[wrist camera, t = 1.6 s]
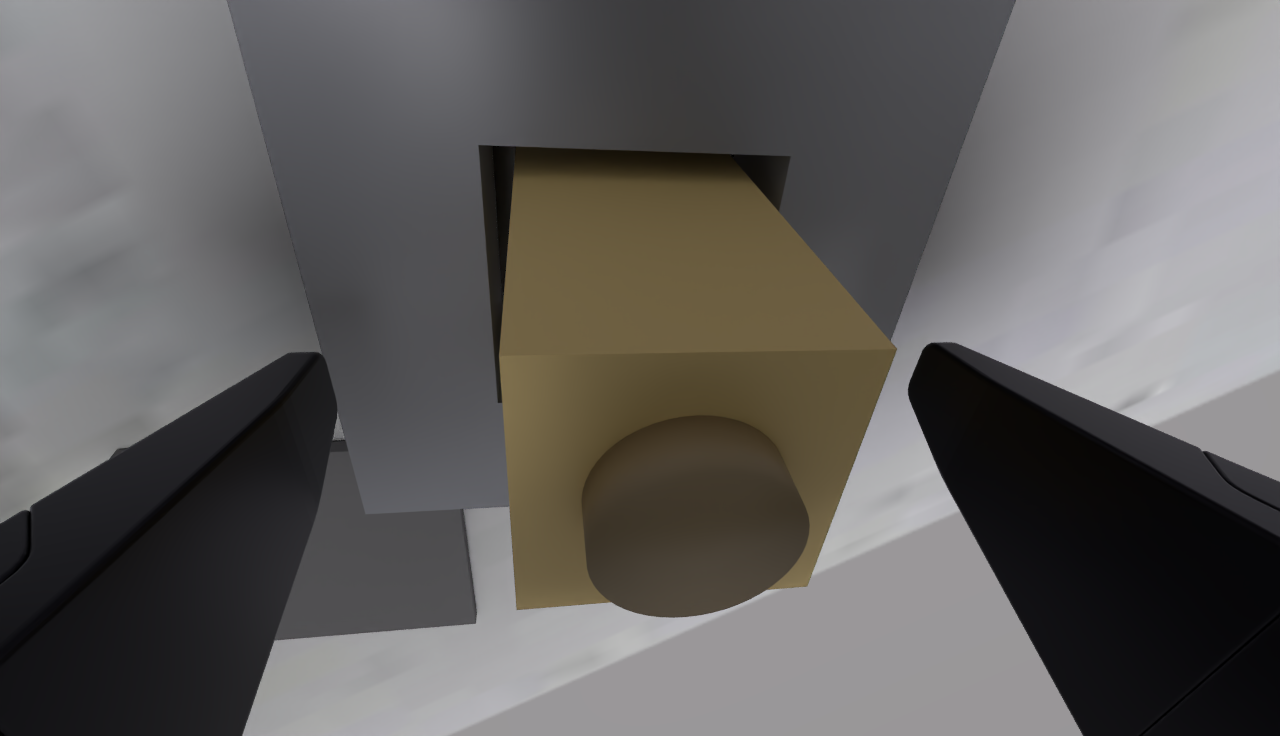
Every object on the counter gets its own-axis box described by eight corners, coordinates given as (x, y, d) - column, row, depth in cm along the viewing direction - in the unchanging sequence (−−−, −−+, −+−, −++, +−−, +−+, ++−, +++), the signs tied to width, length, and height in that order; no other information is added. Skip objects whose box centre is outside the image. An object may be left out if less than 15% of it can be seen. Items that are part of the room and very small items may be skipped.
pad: (220, 633, 20) (215, 645, 19) (116, 449, 15) (108, 460, 15) (476, 612, 21) (475, 623, 21) (453, 437, 16) (451, 447, 16)
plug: (524, 305, 14) (515, 669, 7) (517, 128, 12) (494, 410, 5) (690, 304, 15) (829, 639, 8) (713, 135, 13) (937, 397, 6)
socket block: (391, 424, 16) (365, 514, 13) (278, -116, 10) (191, -131, 7) (794, 411, 18) (836, 488, 15) (926, -53, 11) (1033, -48, 9)
